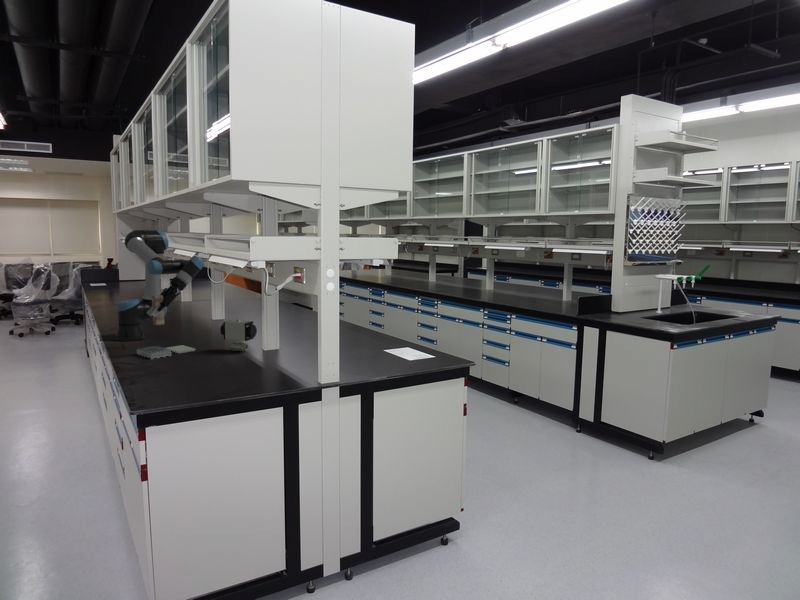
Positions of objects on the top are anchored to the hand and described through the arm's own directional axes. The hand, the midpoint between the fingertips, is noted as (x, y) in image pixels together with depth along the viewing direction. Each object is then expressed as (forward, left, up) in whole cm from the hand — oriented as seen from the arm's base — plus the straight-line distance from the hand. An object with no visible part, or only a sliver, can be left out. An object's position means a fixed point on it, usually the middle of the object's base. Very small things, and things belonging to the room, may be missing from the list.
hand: (150, 315), depth 262 cm
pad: (-2, +16, -21) cm, 26 cm away
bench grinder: (+22, +37, -21) cm, 48 cm away
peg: (0, +4, -5) cm, 6 cm away
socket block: (0, +1, -21) cm, 21 cm away
